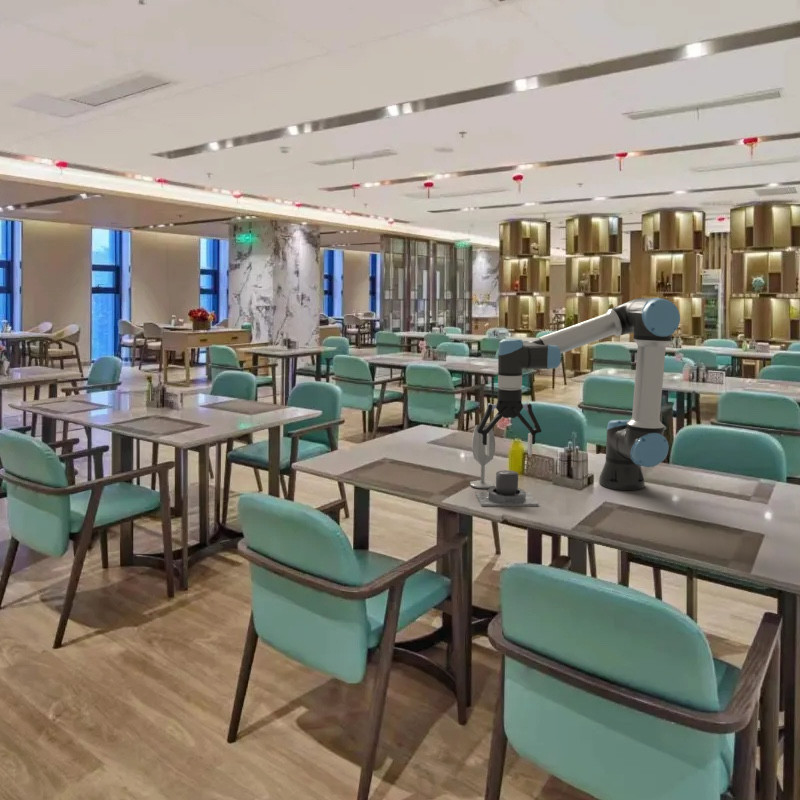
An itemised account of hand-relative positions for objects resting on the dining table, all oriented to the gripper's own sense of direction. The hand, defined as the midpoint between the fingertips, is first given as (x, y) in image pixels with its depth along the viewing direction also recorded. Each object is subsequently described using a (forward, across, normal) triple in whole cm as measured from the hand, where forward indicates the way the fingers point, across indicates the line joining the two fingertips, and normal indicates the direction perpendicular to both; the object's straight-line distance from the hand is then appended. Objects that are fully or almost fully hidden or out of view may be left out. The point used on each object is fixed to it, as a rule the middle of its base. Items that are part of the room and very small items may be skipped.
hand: (508, 454), depth 235 cm
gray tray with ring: (+15, 0, 0) cm, 15 cm away
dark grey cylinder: (+14, 0, 0) cm, 14 cm away
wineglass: (+15, +5, -17) cm, 24 cm away
